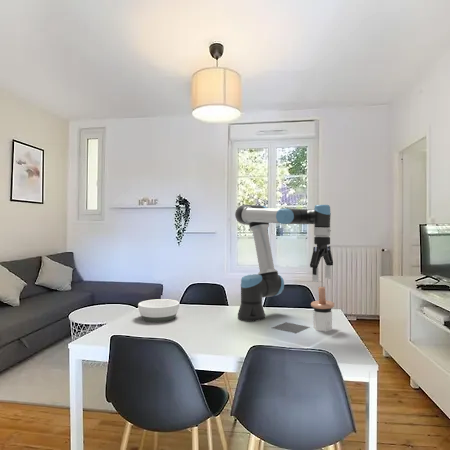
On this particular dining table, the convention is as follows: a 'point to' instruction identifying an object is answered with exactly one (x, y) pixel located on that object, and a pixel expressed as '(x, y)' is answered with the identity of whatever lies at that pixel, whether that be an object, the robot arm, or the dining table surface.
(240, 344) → the dining table surface
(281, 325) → the mat
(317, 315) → the jar
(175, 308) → the bowl
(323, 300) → the orange post stand
